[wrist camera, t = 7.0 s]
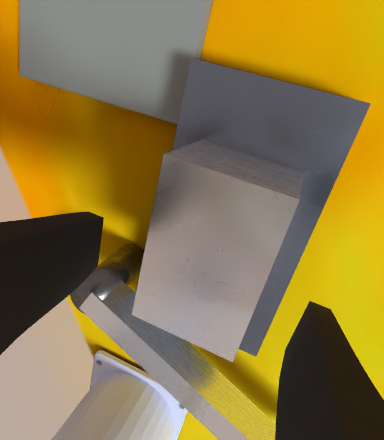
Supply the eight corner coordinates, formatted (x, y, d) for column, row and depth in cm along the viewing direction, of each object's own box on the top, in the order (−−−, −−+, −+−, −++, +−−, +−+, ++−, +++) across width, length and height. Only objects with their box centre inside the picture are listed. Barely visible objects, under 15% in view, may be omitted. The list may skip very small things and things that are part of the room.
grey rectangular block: (250, 303, 16) (232, 362, 12) (169, 269, 17) (131, 314, 13) (303, 171, 13) (299, 199, 9) (201, 139, 14) (163, 154, 10)
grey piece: (262, 326, 19) (255, 356, 17) (158, 281, 21) (140, 303, 18) (361, 102, 14) (370, 103, 11) (209, 63, 15) (191, 57, 13)
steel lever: (317, 447, 21) (318, 537, 16) (113, 257, 21) (63, 297, 17) (342, 437, 20) (350, 530, 15) (128, 238, 20) (79, 275, 16)
